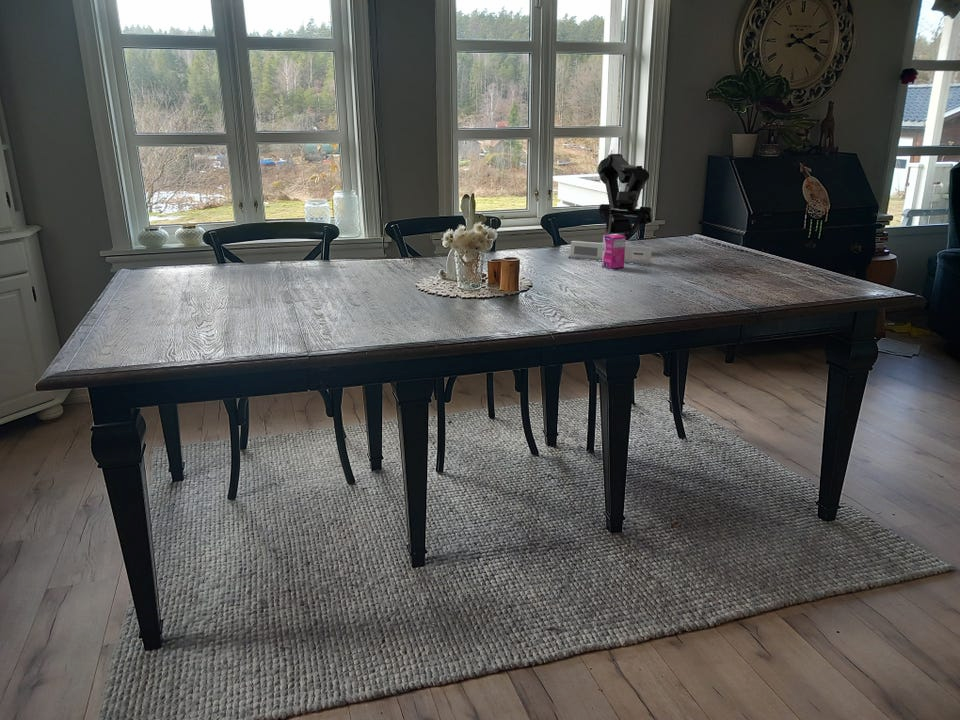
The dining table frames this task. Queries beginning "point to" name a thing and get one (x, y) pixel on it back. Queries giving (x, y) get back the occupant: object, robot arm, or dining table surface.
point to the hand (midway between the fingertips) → (619, 232)
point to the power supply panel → (595, 250)
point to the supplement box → (613, 251)
